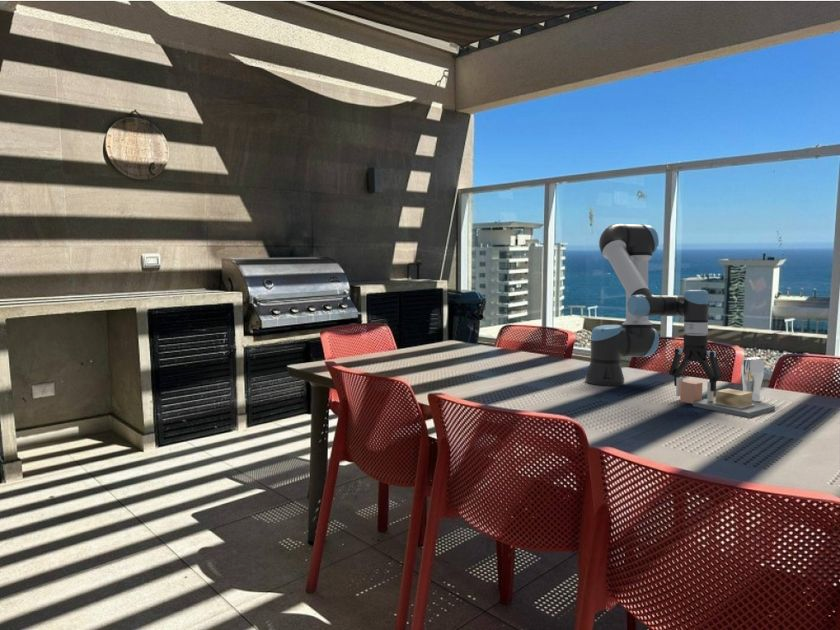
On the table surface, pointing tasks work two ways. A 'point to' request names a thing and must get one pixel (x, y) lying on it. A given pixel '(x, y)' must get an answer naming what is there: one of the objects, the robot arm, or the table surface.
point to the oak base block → (734, 397)
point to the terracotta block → (691, 391)
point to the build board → (735, 408)
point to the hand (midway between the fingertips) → (694, 398)
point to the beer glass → (752, 376)
